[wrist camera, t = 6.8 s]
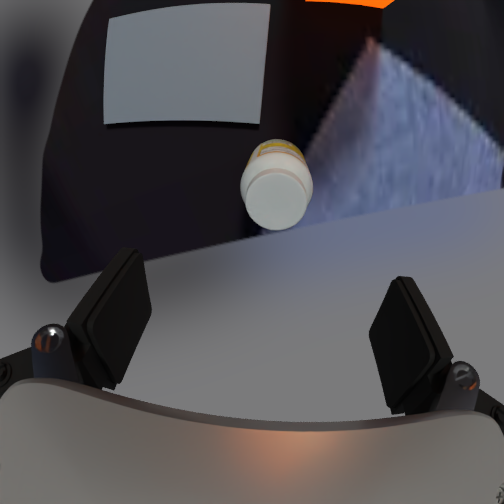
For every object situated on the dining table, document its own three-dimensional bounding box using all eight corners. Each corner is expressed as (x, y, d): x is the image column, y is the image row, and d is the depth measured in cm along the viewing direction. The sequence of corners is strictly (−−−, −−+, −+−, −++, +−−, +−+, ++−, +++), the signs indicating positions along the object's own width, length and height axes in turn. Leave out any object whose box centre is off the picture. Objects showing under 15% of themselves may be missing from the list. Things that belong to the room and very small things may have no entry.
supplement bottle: (279, 127, 24) (281, 143, 16) (316, 169, 26) (335, 207, 17) (237, 163, 26) (217, 198, 18) (274, 202, 28) (272, 253, 20)
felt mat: (270, 6, 17) (270, 4, 17) (259, 123, 24) (259, 123, 23) (112, 20, 18) (109, 19, 17) (106, 123, 24) (104, 124, 24)
